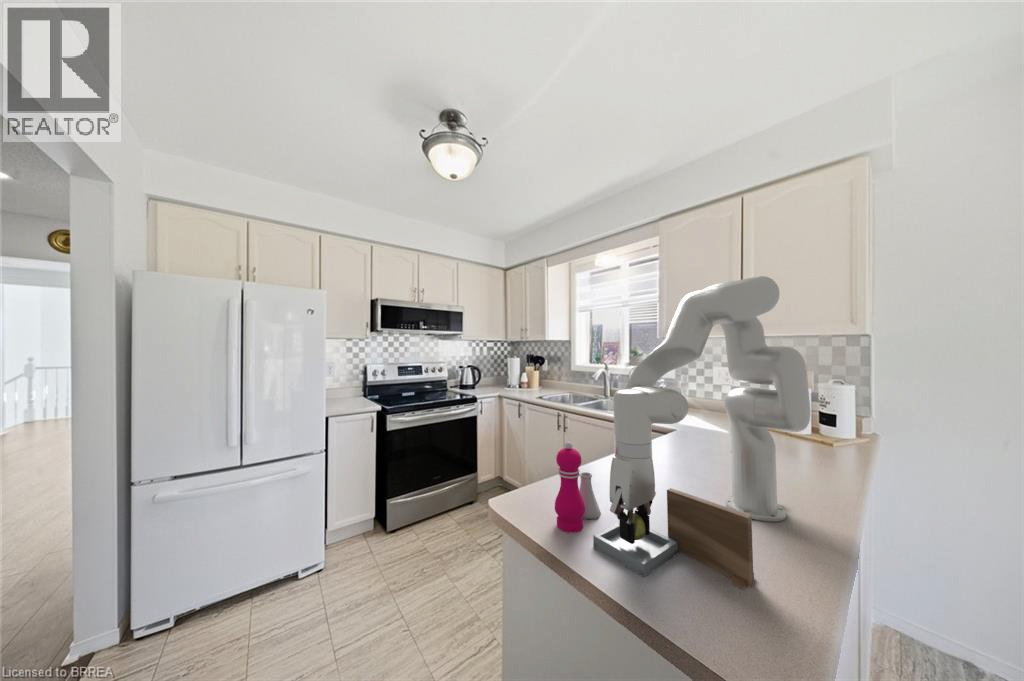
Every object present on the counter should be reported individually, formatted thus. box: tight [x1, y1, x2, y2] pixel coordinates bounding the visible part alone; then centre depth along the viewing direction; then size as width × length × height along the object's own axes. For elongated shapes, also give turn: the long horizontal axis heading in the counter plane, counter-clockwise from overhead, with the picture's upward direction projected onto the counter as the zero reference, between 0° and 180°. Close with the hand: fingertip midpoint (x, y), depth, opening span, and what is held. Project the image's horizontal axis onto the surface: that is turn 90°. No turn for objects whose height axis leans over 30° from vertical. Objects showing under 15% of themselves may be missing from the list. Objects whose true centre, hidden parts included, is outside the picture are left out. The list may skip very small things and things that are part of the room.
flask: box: [579, 471, 602, 520], centre depth 86 cm, size 7×7×10 cm
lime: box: [632, 512, 646, 540], centre depth 70 cm, size 4×5×5 cm
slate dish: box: [592, 522, 678, 578], centre depth 70 cm, size 12×12×2 cm
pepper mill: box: [554, 441, 585, 534], centre depth 80 cm, size 7×7×20 cm
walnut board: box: [666, 487, 755, 590], centre depth 65 cm, size 5×15×12 cm, turn 35°
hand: (634, 535), depth 70 cm, fingers closed on lime, 4 cm apart
